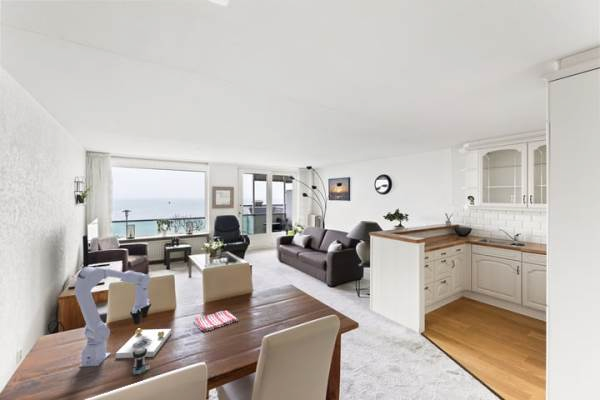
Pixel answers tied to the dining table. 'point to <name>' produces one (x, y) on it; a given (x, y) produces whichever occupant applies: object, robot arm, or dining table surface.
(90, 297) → the robot arm
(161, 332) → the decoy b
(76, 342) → the dining table surface
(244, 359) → the dining table surface
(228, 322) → the dish towel
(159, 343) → the plate
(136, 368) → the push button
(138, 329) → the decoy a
